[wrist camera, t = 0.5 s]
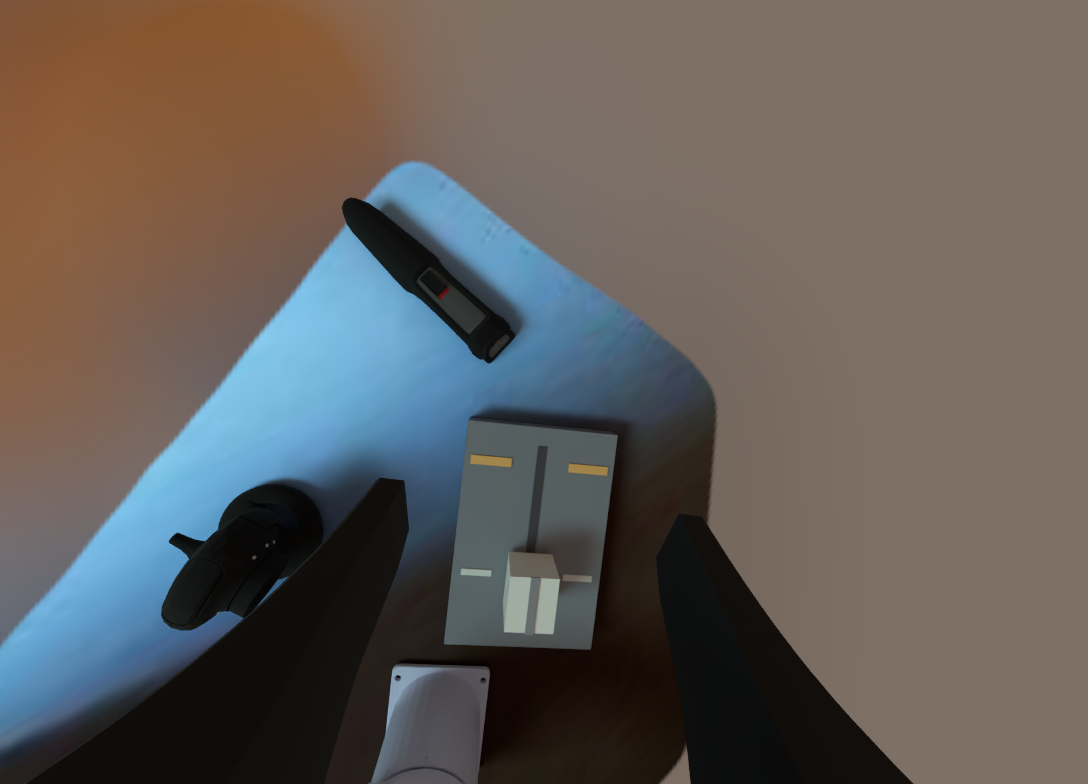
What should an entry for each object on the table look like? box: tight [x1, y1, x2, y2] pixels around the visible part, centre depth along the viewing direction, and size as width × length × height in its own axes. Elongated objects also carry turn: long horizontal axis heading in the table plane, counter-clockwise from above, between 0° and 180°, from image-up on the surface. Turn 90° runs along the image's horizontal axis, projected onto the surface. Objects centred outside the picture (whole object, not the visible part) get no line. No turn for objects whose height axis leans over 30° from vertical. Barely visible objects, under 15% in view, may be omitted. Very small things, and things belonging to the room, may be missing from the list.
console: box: [444, 417, 618, 650], centre depth 35 cm, size 18×12×2 cm, turn 173°
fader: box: [503, 552, 560, 635], centre depth 31 cm, size 4×4×4 cm
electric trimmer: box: [342, 198, 515, 363], centre depth 33 cm, size 4×16×3 cm, turn 46°
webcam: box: [161, 485, 323, 630], centre depth 29 cm, size 8×8×10 cm
